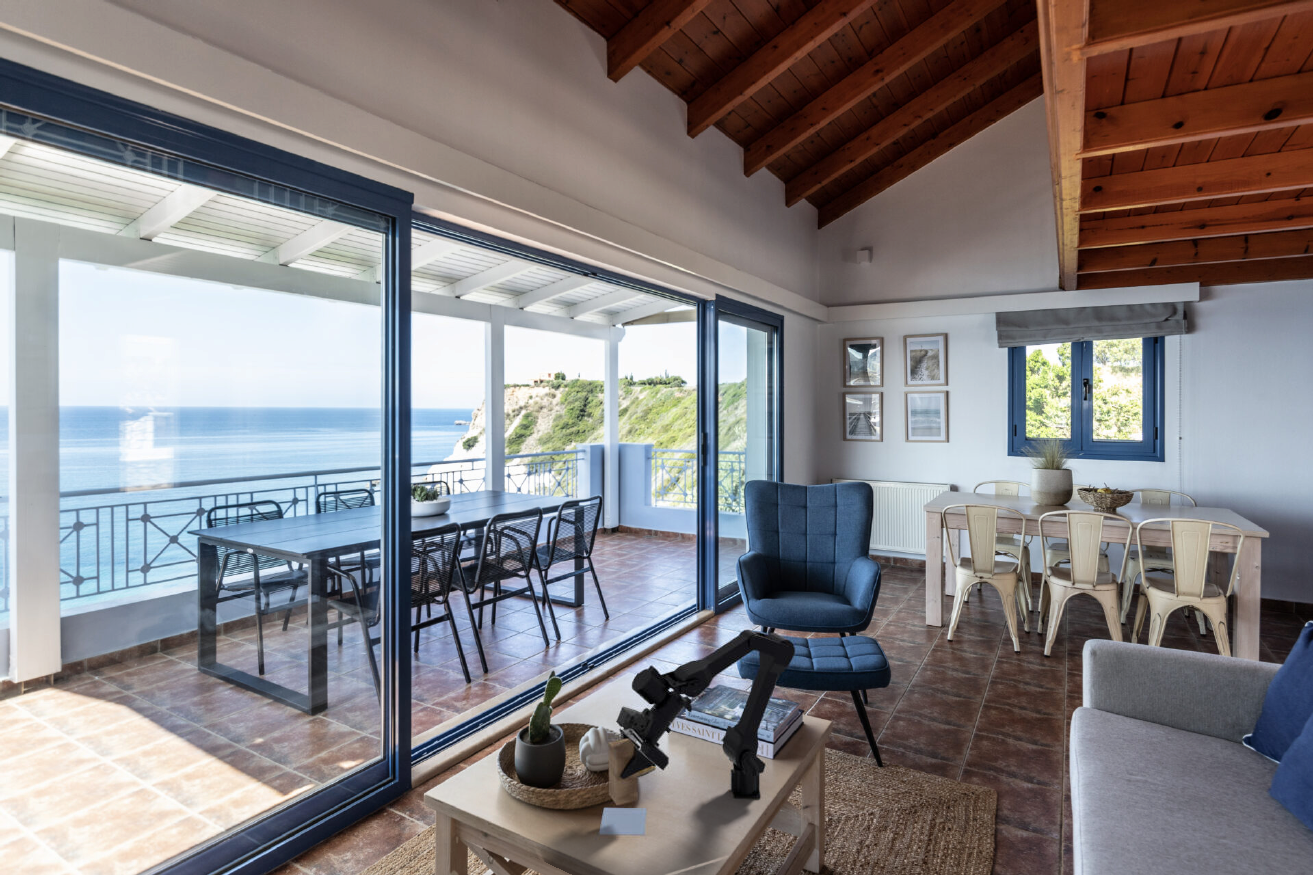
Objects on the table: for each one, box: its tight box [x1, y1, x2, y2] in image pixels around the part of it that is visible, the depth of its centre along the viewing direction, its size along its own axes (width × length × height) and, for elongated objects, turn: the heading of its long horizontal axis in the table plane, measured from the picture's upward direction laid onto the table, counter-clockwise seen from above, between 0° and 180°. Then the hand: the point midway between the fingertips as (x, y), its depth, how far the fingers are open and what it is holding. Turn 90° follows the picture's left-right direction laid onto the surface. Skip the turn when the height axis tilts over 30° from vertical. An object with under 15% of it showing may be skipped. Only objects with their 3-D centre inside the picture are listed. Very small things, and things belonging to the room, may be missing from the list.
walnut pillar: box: [608, 738, 639, 806], centre depth 157 cm, size 5×5×12 cm
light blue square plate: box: [598, 807, 648, 836], centre depth 158 cm, size 10×10×1 cm
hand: (617, 771), depth 156 cm, fingers closed on walnut pillar, 5 cm apart
